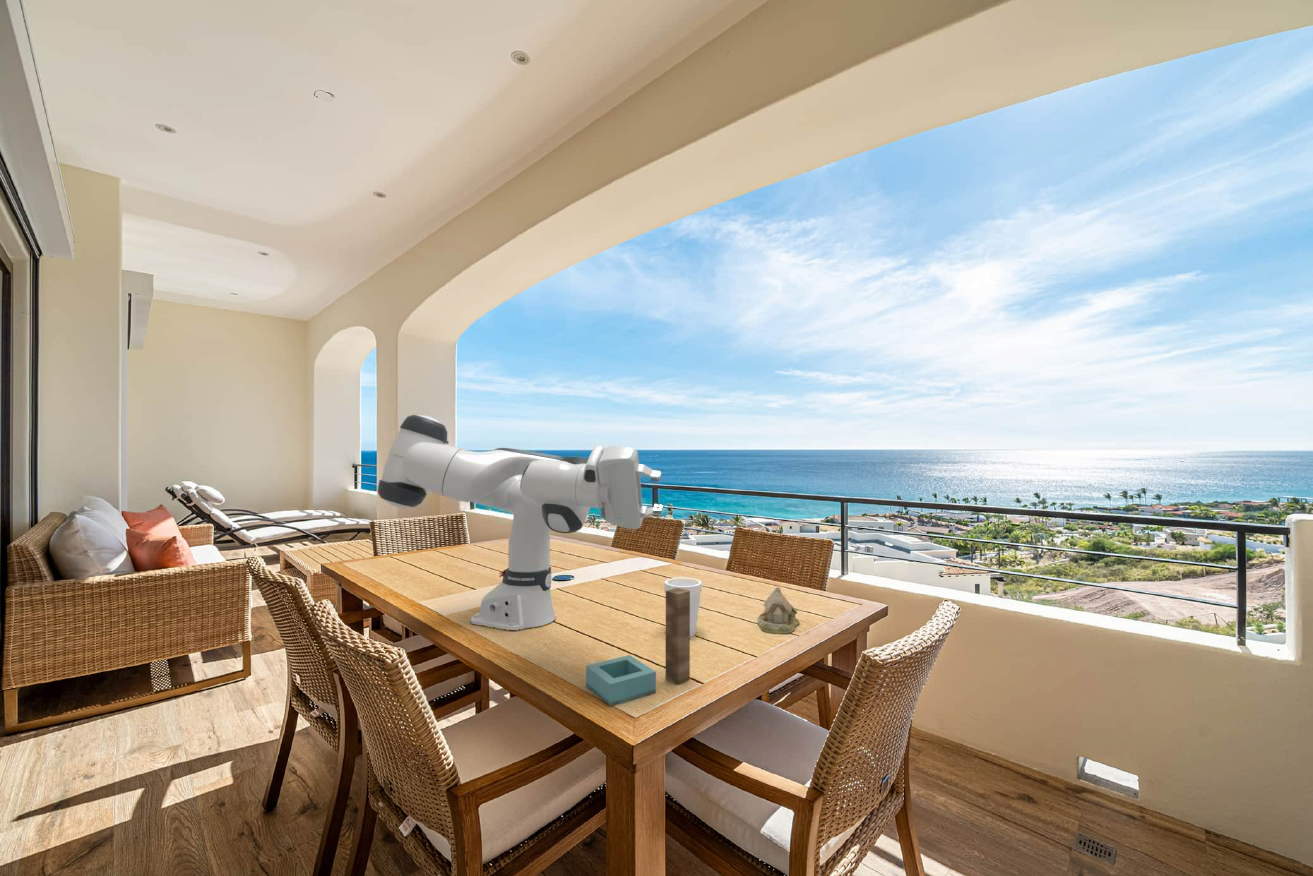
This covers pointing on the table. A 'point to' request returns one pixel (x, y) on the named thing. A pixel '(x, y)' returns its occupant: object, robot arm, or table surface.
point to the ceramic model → (778, 614)
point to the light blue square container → (620, 679)
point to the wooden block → (677, 635)
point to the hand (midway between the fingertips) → (661, 494)
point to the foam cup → (695, 592)
